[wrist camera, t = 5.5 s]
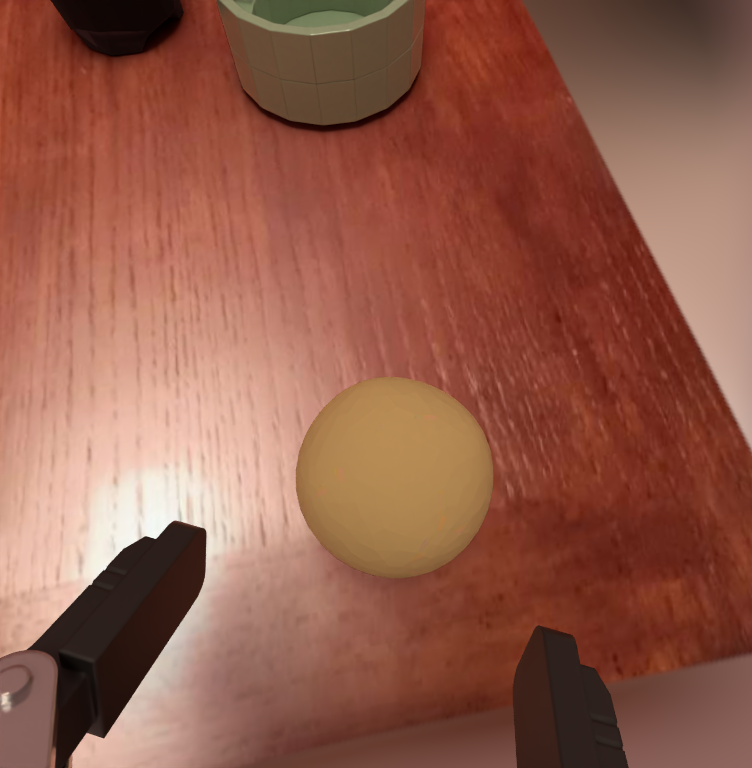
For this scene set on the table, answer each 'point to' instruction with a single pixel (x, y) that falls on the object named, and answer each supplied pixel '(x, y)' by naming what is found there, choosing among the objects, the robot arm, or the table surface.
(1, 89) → the table surface
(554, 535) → the table surface
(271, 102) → the green stepped bowl
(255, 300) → the table surface
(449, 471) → the light bulb
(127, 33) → the portable speaker
